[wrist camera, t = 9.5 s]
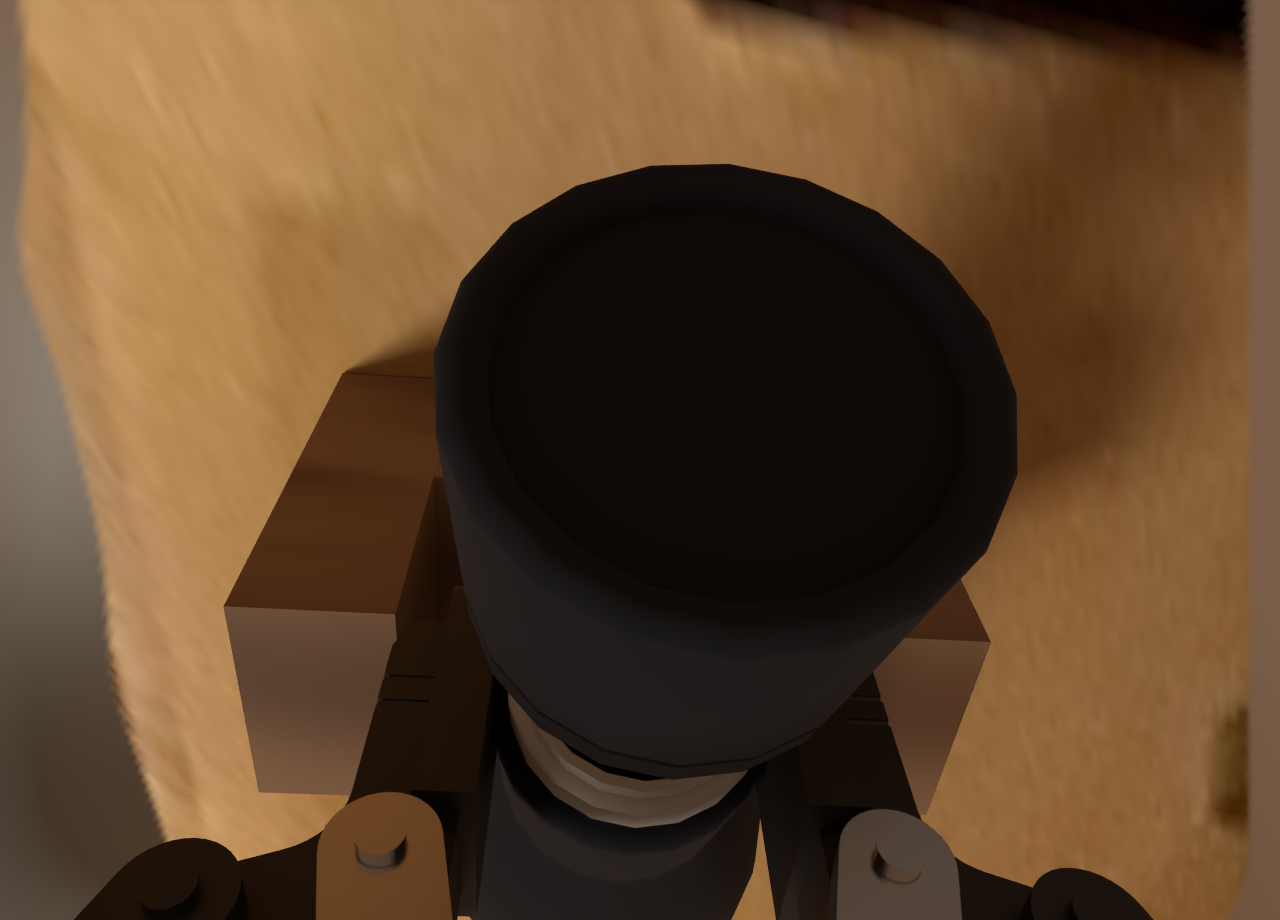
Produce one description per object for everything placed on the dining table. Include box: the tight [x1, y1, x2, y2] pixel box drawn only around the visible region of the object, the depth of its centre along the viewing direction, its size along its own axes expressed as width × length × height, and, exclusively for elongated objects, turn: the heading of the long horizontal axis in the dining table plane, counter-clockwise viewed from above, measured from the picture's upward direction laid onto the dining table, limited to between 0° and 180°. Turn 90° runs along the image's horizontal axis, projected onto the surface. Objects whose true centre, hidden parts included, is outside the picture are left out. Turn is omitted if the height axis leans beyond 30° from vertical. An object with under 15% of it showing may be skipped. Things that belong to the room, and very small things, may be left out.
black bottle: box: [434, 164, 1017, 920], centre depth 19 cm, size 6×6×30 cm
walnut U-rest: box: [224, 373, 991, 815], centre depth 23 cm, size 5×14×9 cm, turn 85°
